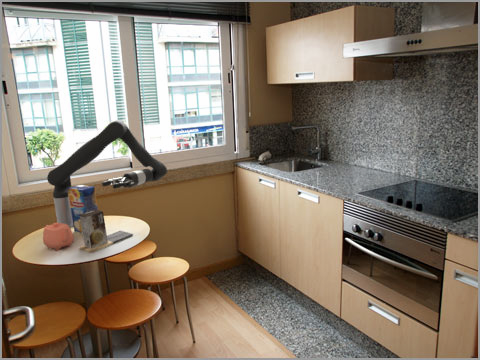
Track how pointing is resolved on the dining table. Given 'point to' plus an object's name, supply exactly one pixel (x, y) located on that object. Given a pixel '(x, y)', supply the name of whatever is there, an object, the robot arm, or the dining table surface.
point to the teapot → (57, 236)
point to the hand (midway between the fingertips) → (108, 185)
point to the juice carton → (81, 203)
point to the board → (111, 240)
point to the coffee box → (93, 228)
